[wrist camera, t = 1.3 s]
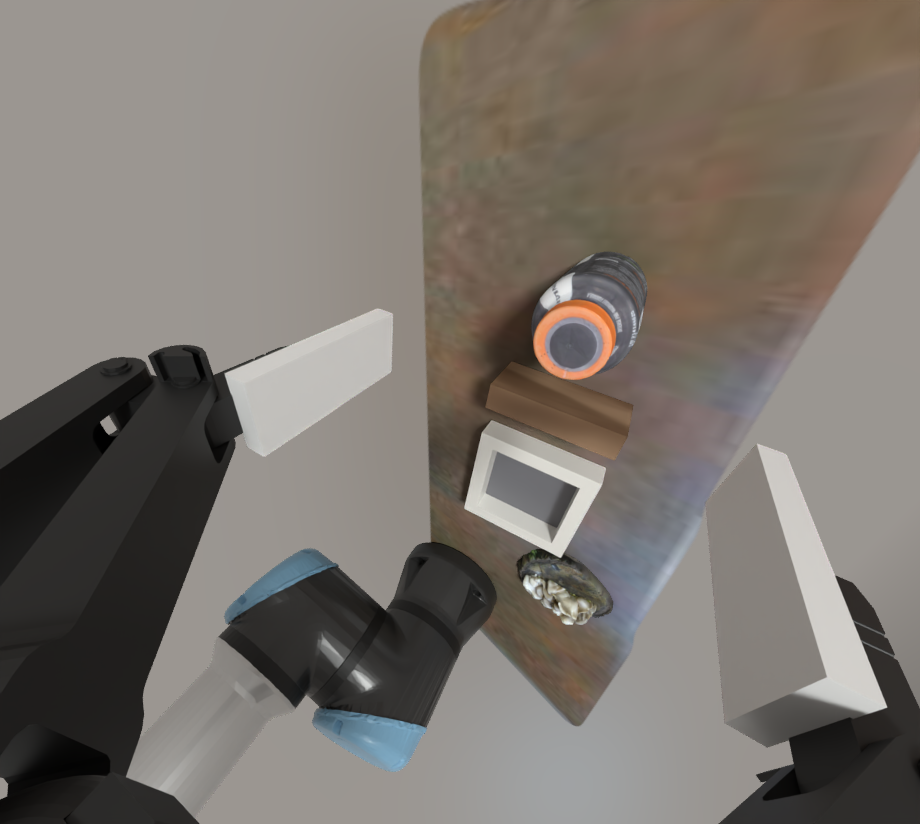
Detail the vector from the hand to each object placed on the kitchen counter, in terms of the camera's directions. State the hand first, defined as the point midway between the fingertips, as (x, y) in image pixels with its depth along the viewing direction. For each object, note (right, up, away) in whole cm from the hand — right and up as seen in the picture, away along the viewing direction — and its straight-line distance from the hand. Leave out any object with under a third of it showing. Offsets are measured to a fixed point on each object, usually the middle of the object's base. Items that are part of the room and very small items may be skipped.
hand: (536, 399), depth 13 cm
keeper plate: (+5, -8, +26) cm, 28 cm away
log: (+10, -21, +32) cm, 40 cm away
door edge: (+7, +1, +19) cm, 20 cm away
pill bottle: (+8, +8, +14) cm, 18 cm away
